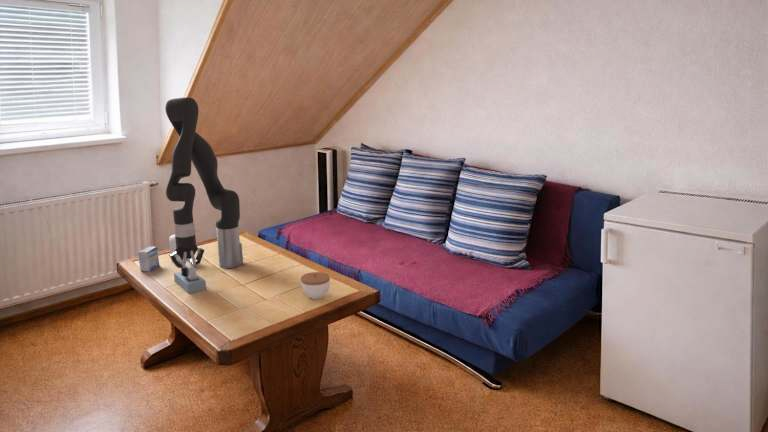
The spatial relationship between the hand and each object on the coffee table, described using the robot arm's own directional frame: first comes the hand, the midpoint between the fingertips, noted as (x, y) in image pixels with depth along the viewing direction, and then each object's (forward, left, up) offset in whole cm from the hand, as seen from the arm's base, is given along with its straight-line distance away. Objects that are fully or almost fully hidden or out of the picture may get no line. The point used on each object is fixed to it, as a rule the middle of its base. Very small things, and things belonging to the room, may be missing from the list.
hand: (189, 275), depth 248 cm
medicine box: (+7, -29, -4) cm, 30 cm away
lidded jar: (-34, +40, -4) cm, 53 cm away
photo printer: (-7, -29, -4) cm, 30 cm away
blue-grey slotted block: (0, 0, -4) cm, 4 cm away
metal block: (0, 0, -3) cm, 3 cm away
